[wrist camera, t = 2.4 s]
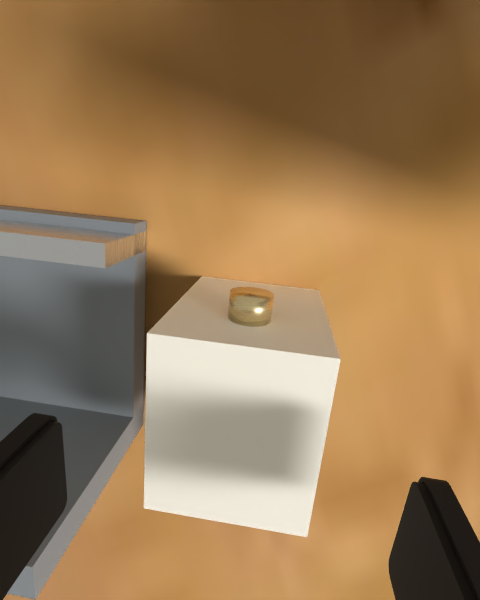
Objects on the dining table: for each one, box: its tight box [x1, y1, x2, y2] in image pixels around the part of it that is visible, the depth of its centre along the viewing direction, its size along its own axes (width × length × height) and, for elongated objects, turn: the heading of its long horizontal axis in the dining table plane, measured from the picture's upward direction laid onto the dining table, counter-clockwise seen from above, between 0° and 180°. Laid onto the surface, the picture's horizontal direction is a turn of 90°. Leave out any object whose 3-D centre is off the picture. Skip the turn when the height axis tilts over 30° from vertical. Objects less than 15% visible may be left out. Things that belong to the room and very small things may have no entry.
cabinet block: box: [144, 276, 340, 537], centre depth 16 cm, size 8×6×8 cm
